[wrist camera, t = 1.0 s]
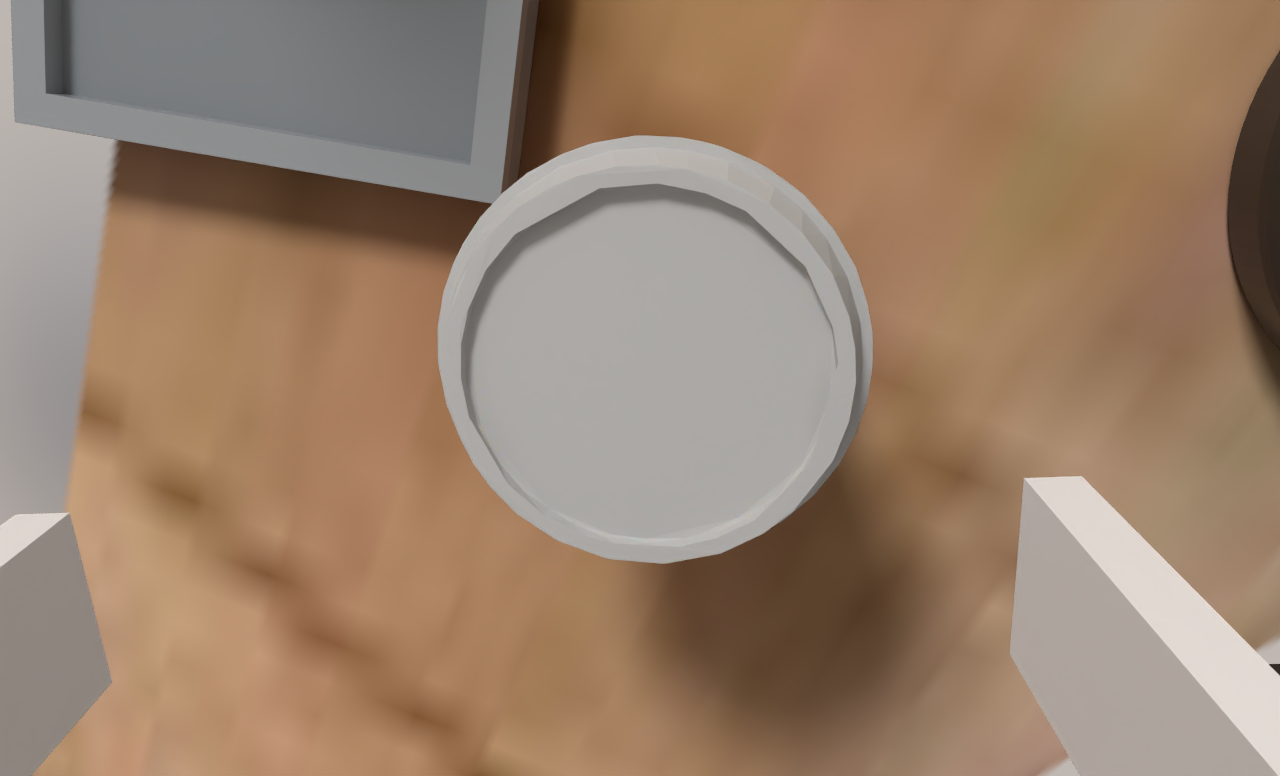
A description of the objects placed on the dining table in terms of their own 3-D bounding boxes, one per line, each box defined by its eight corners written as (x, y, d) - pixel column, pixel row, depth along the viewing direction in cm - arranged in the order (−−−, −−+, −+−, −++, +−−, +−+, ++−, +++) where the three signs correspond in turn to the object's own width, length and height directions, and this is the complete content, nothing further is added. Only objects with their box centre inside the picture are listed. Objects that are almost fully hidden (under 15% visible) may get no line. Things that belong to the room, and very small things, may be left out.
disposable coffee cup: (689, 468, 34) (666, 662, 23) (473, 282, 33) (332, 387, 21) (893, 261, 31) (982, 362, 20) (666, 50, 30) (622, 30, 19)
